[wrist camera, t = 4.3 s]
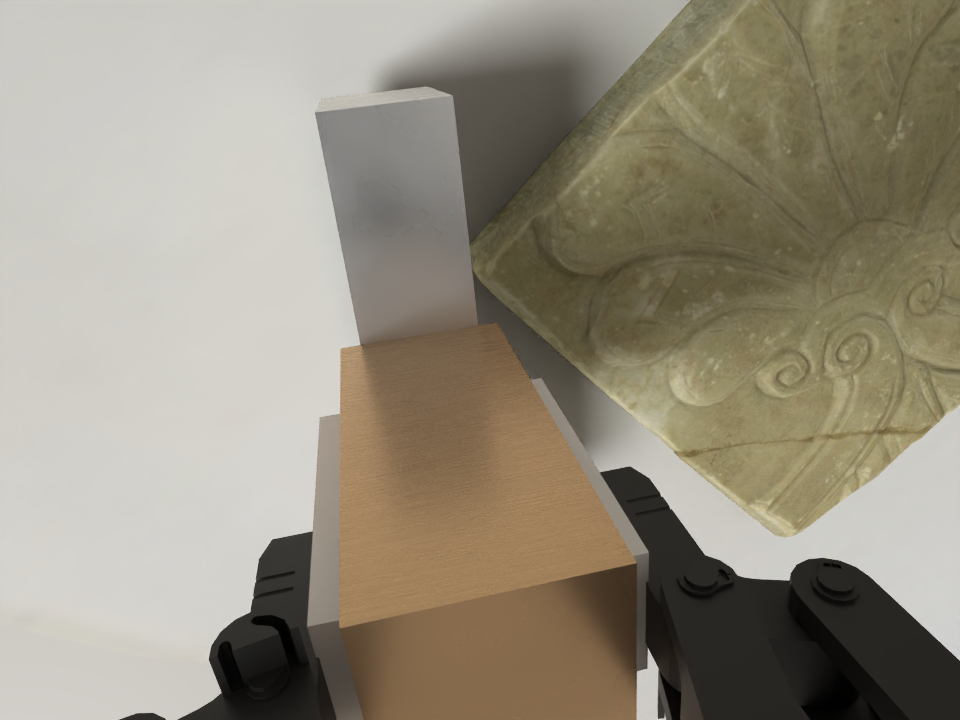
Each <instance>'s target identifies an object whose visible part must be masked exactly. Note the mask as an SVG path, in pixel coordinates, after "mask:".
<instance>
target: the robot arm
mask: <svg viewBox="0 0 960 720" xmlns="http://www.w3.org/2000/svg"><path fill="white" fill-rule="evenodd" d="M531 381H532V383H533V385H534V387H535V388H536V390H537V392H538V393H539V395H540V397H541V399H542V400H543V402H544V404H545V405H546V407H547V409H548V411H549V412H550V414H551V416H552V418H553V419H554V421H555V423H556V424H557V426H558V428H559V430H560V431H561V433H562V435H563V436H564V438H565V440H566V442H567V443H568V445H569V447H570V449H571V450H572V452H573V454H574V455H575V457H576V459H577V461H578V462H579V464H580V466H581V467H582V469H583V471H584V473H585V474H586V476H587V478H588V479H589V481H590V483H591V485H592V486H593V488H594V490H595V492H596V493H597V495H598V497H599V498H600V500H601V502H602V504H603V505H604V507H605V509H606V510H607V512H608V514H609V516H610V517H611V519H612V521H613V523H614V524H615V526H616V528H617V529H618V531H619V533H620V535H621V536H622V538H623V540H624V541H625V543H626V545H627V547H628V548H629V550H630V552H631V553H632V555H633V557H634V559H635V560H636V562H637V671H639V670H643V669H647V656H648V649H649V650H650V652H651V654H652V656H653V658H654V660H655V662H656V664H657V666H658V668H659V672H658V719H660V718H664V712H665V716H666V720H960V661H959V660H958V659H957V658H956V657H955V656H954V655H953V654H952V653H951V652H950V651H949V650H948V649H947V648H945V647H944V646H943V645H942V644H941V643H940V642H939V641H938V640H937V639H936V638H935V637H934V636H933V635H931V634H930V633H929V632H928V631H927V630H926V629H925V628H924V627H923V626H922V625H921V624H920V623H919V622H918V621H916V620H915V619H914V618H913V617H912V616H911V615H910V614H909V613H908V612H907V611H906V610H905V609H904V608H903V607H901V606H900V605H899V604H898V603H897V602H896V601H895V600H894V599H893V598H892V597H891V596H890V595H889V594H888V593H886V592H885V591H884V590H883V589H882V588H881V587H880V586H879V585H878V584H877V583H876V582H875V581H874V580H873V579H871V578H870V577H869V576H868V575H866V574H865V573H864V572H862V571H861V570H859V569H858V568H856V567H854V566H852V565H849V564H847V563H844V562H842V561H838V560H832V559H826V558H818V559H808V560H806V561H804V562H802V563H799V564H797V565H796V567H795V568H794V570H793V571H792V573H791V576H790V581H784V580H760V579H750V578H744V577H740V576H737V574H736V573H735V572H734V570H733V569H732V568H731V567H729V566H728V565H726V564H725V563H723V562H722V561H720V560H717V559H714V558H711V557H708V556H705V555H704V553H703V552H702V550H701V549H700V548H699V546H698V545H697V544H696V542H695V541H694V539H693V538H692V537H691V535H690V534H689V533H688V531H687V530H686V528H685V527H684V526H683V524H682V523H681V522H680V520H679V519H678V517H677V516H676V515H675V513H674V512H673V511H672V509H671V510H670V507H669V505H668V504H667V502H666V501H665V499H664V498H663V497H661V495H660V493H659V491H658V490H657V488H656V487H655V486H654V484H653V483H652V482H651V480H650V479H649V478H648V477H646V476H645V475H643V474H642V473H640V472H638V471H637V470H635V469H633V468H632V467H625V468H620V469H615V470H610V471H605V472H599V471H598V469H597V467H596V466H595V464H594V463H593V461H592V459H591V458H590V456H589V455H588V453H587V451H586V450H585V448H584V446H583V445H582V443H581V442H580V440H579V438H578V437H577V435H576V433H575V432H574V430H573V429H572V427H571V425H570V424H569V422H568V420H567V419H566V417H565V416H564V414H563V412H562V411H561V409H560V408H559V406H558V404H557V403H556V401H555V399H554V398H553V396H552V395H551V393H550V391H549V390H548V388H547V386H546V385H545V383H544V382H543V380H542V378H538V379H532V380H531ZM253 596H254V599H253V600H252V606H251V612H250V613H248V614H246V615H244V616H242V617H240V618H238V619H236V620H234V621H233V622H232V623H231V624H230V625H228V626H227V627H226V628H225V629H224V630H223V631H221V632H220V634H219V635H218V637H217V638H216V640H215V641H214V643H213V644H212V647H211V651H210V656H209V661H210V664H211V666H212V669H213V671H214V674H215V676H216V679H217V681H218V684H219V686H220V689H221V692H222V693H221V694H220V695H219V696H217V697H216V698H215V699H214V700H213V701H211V702H210V703H208V704H206V705H205V706H203V707H201V708H200V709H198V710H196V711H194V712H192V713H190V714H188V715H186V716H184V717H182V718H180V719H178V720H364V719H363V715H362V711H361V708H360V704H359V700H358V696H357V693H356V689H355V685H354V681H353V678H352V674H351V670H350V666H349V663H348V659H347V655H346V651H345V647H344V644H343V640H342V636H341V632H340V629H339V612H340V414H337V415H331V416H325V417H320V424H319V440H318V457H317V473H316V489H315V505H314V522H313V532H308V533H303V534H298V535H293V536H288V537H283V538H278V539H273V540H272V541H271V543H270V544H269V545H268V547H267V548H266V550H265V551H264V553H263V554H262V556H261V557H260V559H259V564H258V570H257V576H256V583H255V588H254V594H253ZM120 720H166V719H165V718H163V717H160V716H158V715H156V714H154V713H138V714H134V715H131V716H129V717H126V718H123V719H120Z"/></svg>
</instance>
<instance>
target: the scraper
mask: <svg viewBox="0 0 960 720" xmlns="http://www.w3.org/2000/svg"><path fill="white" fill-rule="evenodd" d="M315 114H316V119H317V125H318V130H319V135H320V140H321V145H322V150H323V155H324V160H325V165H326V170H327V175H328V181H329V186H330V191H331V196H332V201H333V206H334V211H335V216H336V221H337V226H338V232H339V237H340V242H341V247H342V252H343V257H344V262H345V267H346V272H347V277H348V282H349V288H350V293H351V298H352V303H353V308H354V313H355V318H356V323H357V328H358V333H359V338H360V344H361V345H360V346H354V347H348V348H342V349H341V403H340V612H339V629H340V632H341V636H342V640H343V644H344V647H345V651H346V655H347V659H348V663H349V666H350V670H351V674H352V678H353V681H354V685H355V689H356V693H357V696H358V700H359V704H360V708H361V711H362V715H363V719H364V720H636V693H637V562H636V560H635V559H634V557H633V555H632V553H631V552H630V550H629V548H628V547H627V545H626V543H625V541H624V540H623V538H622V536H621V535H620V533H619V531H618V529H617V528H616V526H615V524H614V523H613V521H612V519H611V517H610V516H609V514H608V512H607V510H606V509H605V507H604V505H603V504H602V502H601V500H600V498H599V497H598V495H597V493H596V492H595V490H594V488H593V486H592V485H591V483H590V481H589V479H588V478H587V476H586V474H585V473H584V471H583V469H582V467H581V466H580V464H579V462H578V461H577V459H576V457H575V455H574V454H573V452H572V450H571V449H570V447H569V445H568V443H567V442H566V440H565V438H564V436H563V435H562V433H561V431H560V430H559V428H558V426H557V424H556V423H555V421H554V419H553V418H552V416H551V414H550V412H549V411H548V409H547V407H546V405H545V404H544V402H543V400H542V399H541V397H540V395H539V393H538V392H537V390H536V388H535V387H534V385H533V383H532V381H531V380H530V378H529V376H528V375H527V373H526V371H525V369H524V368H523V366H522V364H521V362H520V361H519V359H518V357H517V356H516V354H515V352H514V350H513V349H512V347H511V345H510V344H509V342H508V340H507V338H506V337H505V335H504V333H503V331H502V330H501V328H500V326H499V325H498V323H492V324H486V325H480V326H478V319H477V310H476V300H475V291H474V282H473V273H472V264H471V255H470V246H469V237H468V227H467V218H466V209H465V200H464V191H463V182H462V173H461V164H460V155H459V145H458V136H457V127H456V118H455V109H454V100H453V96H452V95H450V94H447V93H444V92H441V91H439V90H436V89H433V88H430V87H428V86H425V87H417V88H408V89H400V90H391V91H383V92H374V93H366V94H358V95H349V96H341V97H332V98H324V99H321V101H320V103H319V105H318V107H317V110H316V112H315Z"/></svg>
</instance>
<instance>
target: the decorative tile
mask: <svg viewBox="0 0 960 720" xmlns="http://www.w3.org/2000/svg"><path fill="white" fill-rule="evenodd" d="M469 246H470V255H471V264H472V269H473V271H474V273H475V275H476V276H477V278H478V279H479V280H480V281H481V283H482V284H483V285H484V286H485V287H486V288H487V289H488V290H489V291H490V292H491V293H492V294H493V295H494V296H495V297H497V298H498V299H499V300H500V301H501V302H502V303H503V304H504V305H506V306H507V307H508V308H509V309H510V310H511V311H512V312H514V313H515V314H516V315H517V316H518V317H519V318H520V319H522V320H523V321H524V322H525V323H526V324H527V325H528V326H530V327H531V328H532V329H533V330H534V331H535V332H536V333H538V334H539V335H540V336H541V337H542V338H543V339H545V340H546V341H547V342H548V343H549V344H550V345H551V346H552V347H554V348H555V349H556V350H557V351H558V352H559V353H560V354H561V355H563V356H564V357H565V358H566V359H567V360H568V361H569V362H571V363H572V364H573V365H574V366H575V367H576V368H577V369H578V370H580V371H581V372H582V373H583V374H584V375H585V376H586V377H588V378H589V379H590V380H591V381H592V382H593V383H594V384H595V385H596V386H598V387H599V388H600V389H601V390H602V391H603V392H604V393H606V394H607V395H608V396H609V397H610V398H611V399H613V400H614V401H615V402H616V403H617V404H618V405H620V406H621V407H622V408H623V409H624V410H626V411H627V412H628V413H629V414H630V415H632V416H633V417H634V418H635V419H636V420H637V421H639V422H640V423H641V424H642V425H643V426H644V427H646V428H647V429H648V430H649V431H651V432H652V433H653V434H655V435H656V436H657V437H658V438H660V439H661V440H662V441H663V442H664V443H665V444H666V445H667V446H668V447H669V448H670V449H672V450H673V451H674V453H675V454H676V455H677V456H678V457H679V458H680V459H681V460H683V461H684V462H685V463H686V464H688V465H689V466H690V467H691V468H693V469H694V470H695V471H696V472H698V473H699V474H700V475H701V476H702V477H704V478H705V479H706V480H707V481H708V482H710V483H711V484H712V485H713V486H715V487H716V488H717V489H718V490H719V491H721V492H722V493H723V494H724V495H726V496H727V497H728V498H729V499H731V500H732V501H733V502H734V503H736V504H737V505H738V506H739V507H741V508H742V509H743V510H744V511H745V512H747V513H748V514H749V515H751V516H752V517H753V518H754V519H756V520H757V521H758V522H760V523H761V524H762V525H763V526H764V527H765V528H767V529H768V530H770V531H771V532H772V533H774V534H775V535H777V536H781V537H789V536H793V535H796V534H798V533H800V532H801V531H803V530H805V529H806V528H807V527H808V526H810V525H811V524H812V523H813V522H815V521H816V520H817V519H819V518H820V517H821V516H822V515H824V514H825V513H826V512H828V511H829V510H830V509H832V508H833V507H834V506H835V505H837V504H838V503H839V502H841V501H842V500H843V499H845V498H846V497H847V496H849V495H850V494H852V493H853V492H854V491H856V490H857V489H859V488H860V487H862V486H863V485H865V484H866V483H868V482H870V481H871V480H873V479H874V478H875V477H876V476H878V475H879V474H880V473H881V472H882V471H883V470H884V469H885V468H886V467H887V466H888V465H889V464H890V463H891V462H892V461H893V460H895V459H896V458H897V457H898V456H899V455H900V454H901V453H902V452H903V451H904V450H905V449H906V448H907V447H908V446H909V445H911V444H912V443H913V442H915V441H917V440H919V439H921V438H922V437H923V436H924V435H925V434H926V433H927V432H928V431H929V430H930V429H931V428H932V427H933V426H935V425H936V424H937V423H938V422H939V421H940V420H941V419H942V418H943V417H944V416H945V415H946V414H947V413H949V412H951V411H952V410H954V409H955V408H956V407H958V406H959V405H960V0H691V1H690V2H689V3H688V4H687V5H686V6H685V7H684V8H683V9H682V10H681V12H680V13H679V14H678V15H677V16H676V17H675V18H674V19H673V20H672V21H671V23H670V24H669V25H668V26H667V27H666V28H665V29H664V30H663V31H662V33H661V34H660V35H659V36H658V37H657V38H656V39H655V40H654V41H653V43H652V44H651V45H650V46H649V47H648V48H647V49H646V50H645V51H644V53H643V54H642V55H641V56H640V57H639V58H638V59H637V60H636V62H635V63H634V64H633V65H632V66H631V67H630V68H629V69H628V70H627V71H626V72H625V74H624V75H623V76H622V77H621V78H620V79H619V80H618V81H617V82H616V83H615V85H614V86H613V87H612V88H611V89H610V90H609V91H608V92H607V93H606V94H605V95H604V97H603V98H602V99H601V100H600V101H599V102H598V103H597V104H596V105H595V106H594V107H593V108H592V110H591V111H590V112H589V113H588V114H587V115H586V116H585V117H584V118H583V119H582V120H581V121H580V122H579V124H578V125H577V126H576V127H575V128H574V129H573V130H572V131H571V132H570V133H569V134H568V135H567V137H566V138H565V139H564V140H563V141H562V142H561V143H560V144H559V145H558V147H557V148H556V149H555V150H554V151H553V152H552V153H551V154H550V156H549V157H548V158H547V159H546V160H545V161H544V162H543V163H542V165H541V166H540V167H539V168H538V169H537V170H536V171H535V173H534V174H533V175H532V176H531V177H530V178H529V179H528V180H527V181H526V183H525V184H524V185H523V186H522V187H521V188H520V189H519V190H518V191H517V192H516V194H515V195H514V196H513V197H512V198H511V199H510V200H509V201H508V202H507V204H506V205H505V206H504V207H503V208H502V209H501V210H500V211H499V212H498V213H497V214H496V215H495V217H494V218H493V219H492V220H491V221H490V222H489V223H488V224H487V225H486V226H485V228H484V229H483V230H482V231H481V232H480V233H479V234H478V235H477V236H476V237H475V239H474V240H473V241H472V242H471V243H470V244H469Z"/></svg>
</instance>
